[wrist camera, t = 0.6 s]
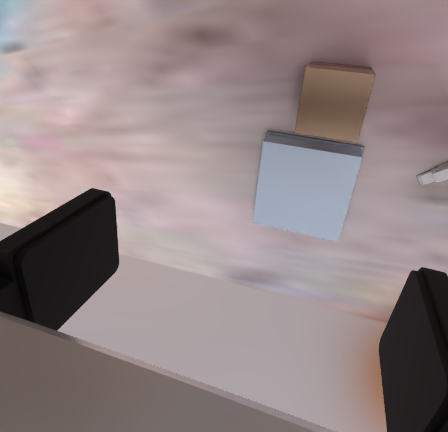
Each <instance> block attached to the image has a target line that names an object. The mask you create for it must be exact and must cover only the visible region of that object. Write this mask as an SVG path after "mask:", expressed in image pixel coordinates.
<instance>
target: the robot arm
mask: <svg viewBox="0 0 448 432" xmlns="http://www.w3.org/2000/svg"><path fill="white" fill-rule="evenodd" d="M118 265H119V252H118V238H117V223H116V208H115V200H114V198H113V197H111V194H110V193H109V192H107V191H103V190H98V189H94V188H92V189H89V190H88V191H86V192H84V193H82V194H81V195H79V196H77V197H75V198H74V199H72V200H70V201H69V202H67V203H65V204H63V205H62V206H60V207H58V208H57V209H55V210H53V211H51V212H50V213H48V214H46V215H44V216H43V217H41V218H39V219H38V220H36V221H34V222H32V223H31V224H29V225H27V226H26V227H24V228H22V229H20V230H19V231H17V232H15V233H13V234H12V235H10V236H8V237H7V238H5V239H3V240H1V241H0V432H335V431H332V430H330V429H327V428H325V427H322V426H320V425H317V424H314V423H312V422H309V421H306V420H303V419H301V418H298V417H295V416H293V415H290V414H287V413H284V412H282V411H279V410H276V409H273V408H270V407H268V406H265V405H262V404H259V403H257V402H254V401H251V400H249V399H246V398H243V397H240V396H237V395H235V394H232V393H229V392H227V391H224V390H221V389H218V388H216V387H213V386H210V385H207V384H205V383H202V382H199V381H196V380H193V379H190V378H188V377H185V376H182V375H179V374H177V373H174V372H171V371H168V370H166V369H163V368H160V367H157V366H154V365H152V364H149V363H146V362H143V361H140V360H138V359H134V358H132V357H129V356H126V355H124V354H121V353H118V352H115V351H112V350H110V349H107V348H104V347H101V346H98V345H95V344H92V343H90V342H87V341H84V340H81V339H78V338H75V337H73V336H70V335H67V334H64V333H61V332H58V331H57V330H58V329H59V328H60V327H61V326H62V325H63V324H64V323H65V322H66V321H67V320H68V319H69V318H70V317H71V316H72V315H73V314H74V313H75V312H76V311H77V310H78V309H79V308H80V307H81V306H82V305H83V304H84V303H85V302H86V301H87V300H88V299H89V298H90V297H91V296H92V295H93V294H94V293H95V292H96V291H97V290H98V289H99V288H100V287H101V286H102V285H103V284H104V283H105V282H106V281H107V280H108V279H109V278H110V277H111V276H112V275H113V274H114V273H115V272H116V270H117V268H118ZM379 356H380V366H381V375H382V386H383V395H384V404H385V414H386V423H387V432H448V276H447V274H446V273H444V272H440V271H436V270H432V269H428V268H424V267H422V268H420V269H419V270H418V271H414V270H413V271H411V272H410V274H409V276H408V279H407V281H406V283H405V285H404V288H403V290H402V292H401V294H400V296H399V299H398V301H397V303H396V305H395V308H394V310H393V312H392V314H391V317H390V319H389V321H388V323H387V325H386V328H385V330H384V332H383V334H382V337H381V339H380V343H379Z"/></svg>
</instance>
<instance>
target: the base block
mask: <svg viewBox="0 0 448 432" xmlns="http://www.w3.org/2000/svg"><path fill="white" fill-rule="evenodd" d="M363 150H364V146H360V145H354V144H348V143H341V142H335V141H328V140H322V139H316V138H309V137H303V136H296V135H290V134H284V133H277V132H271V131H267V133H266V138H265V139H264V141H263V146H262V153H261V161H260V169H259V176H258V184H257V191H256V199H255V207H254V214H253V222H252V223H256V224H260V225H265V226H269V227H274V228H278V229H283V230H287V231H292V232H296V233H301V234H305V235H310V236H314V237H319V238H323V239H328V240H332V241H337V242H338V241H339V238H340V234H341V231H342V227H343V224H344V220H345V217H346V213H347V210H348V206H349V203H350V199H351V196H352V192H353V189H354V185H355V182H356V178H357V175H358V171H359V168H360V164H361V161H362V154H363Z"/></svg>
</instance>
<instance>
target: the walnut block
mask: <svg viewBox="0 0 448 432" xmlns="http://www.w3.org/2000/svg"><path fill="white" fill-rule="evenodd" d="M375 76H376V74H375V73H374V71H373V70H372V68H371V67H361V66H351V65H342V64H332V63H323V62H312V63H310V64H309V65H308V66H307V67H306V69H305V75H304V80H303V86H302V92H301V98H300V103H299V109H298V115H297V120H296V126H295V132H294V133H299V134H305V135H312V136H318V137H325V138H331V139H338V140H344V141H351V142H358V138H359V135H360V131H361V127H362V124H363V120H364V116H365V113H366V109H367V105H368V102H369V98H370V94H371V90H372V87H373V83H374V79H375Z"/></svg>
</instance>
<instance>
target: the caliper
mask: <svg viewBox="0 0 448 432" xmlns="http://www.w3.org/2000/svg"><path fill="white" fill-rule="evenodd" d="M417 178H418V180H419V182H420V184H421V185H423V184H424V185H425V184H428V183H431V182H434V181H436V182H437V183H438V182H441V181H444V180H446V179H448V162H446V163H444V164H442V165H439V166H437V167H435V168H433V169H432V170H430V171H428V172H425V173H422V174H420V175H417Z"/></svg>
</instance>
